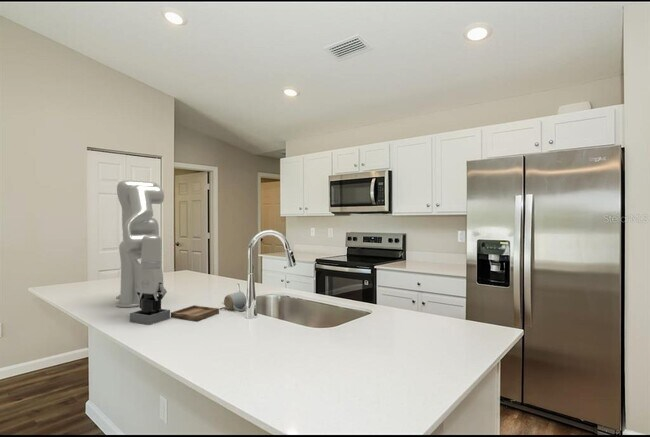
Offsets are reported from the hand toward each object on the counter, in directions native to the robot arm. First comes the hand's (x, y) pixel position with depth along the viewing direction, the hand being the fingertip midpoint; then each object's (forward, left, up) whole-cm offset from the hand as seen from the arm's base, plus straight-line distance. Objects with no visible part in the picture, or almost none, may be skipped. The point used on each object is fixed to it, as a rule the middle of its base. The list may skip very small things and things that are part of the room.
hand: (150, 308), depth 147 cm
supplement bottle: (0, 0, -5) cm, 5 cm away
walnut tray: (+12, +13, -5) cm, 18 cm away
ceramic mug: (+22, +30, -5) cm, 37 cm away
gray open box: (0, 0, -5) cm, 5 cm away
